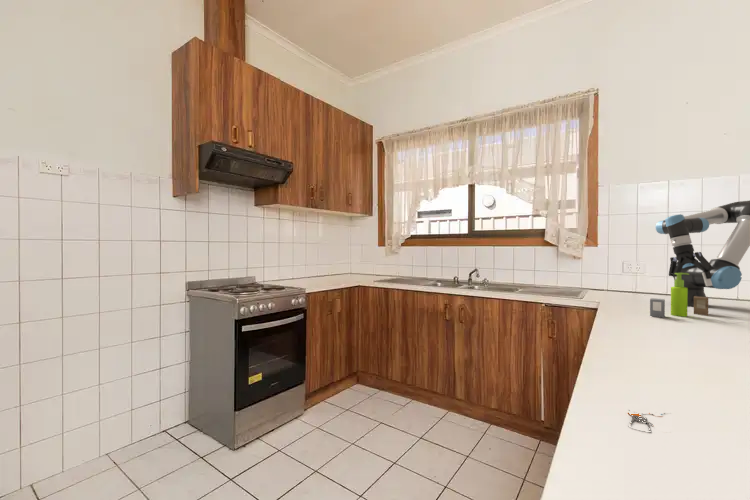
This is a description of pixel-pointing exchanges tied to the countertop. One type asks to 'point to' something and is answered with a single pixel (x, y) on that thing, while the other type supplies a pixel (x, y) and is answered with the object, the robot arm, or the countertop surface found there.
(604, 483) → the countertop surface
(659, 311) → the grey rectangular block
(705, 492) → the countertop surface
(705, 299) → the brown wooden block
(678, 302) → the soap dispenser
